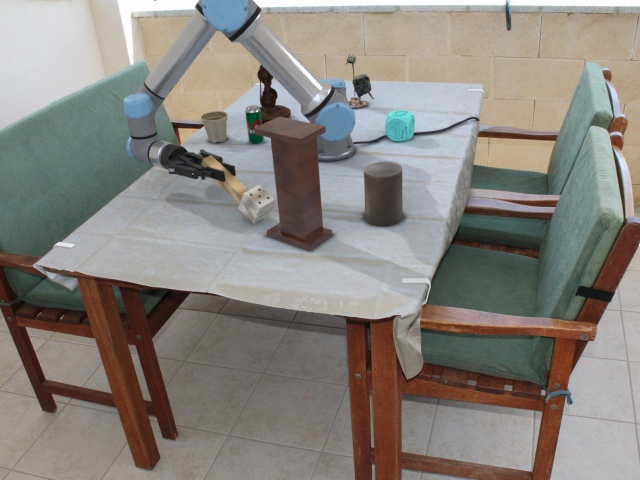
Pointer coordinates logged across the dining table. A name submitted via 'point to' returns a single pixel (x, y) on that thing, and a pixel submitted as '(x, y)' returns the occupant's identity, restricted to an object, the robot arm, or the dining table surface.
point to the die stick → (243, 193)
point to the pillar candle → (383, 193)
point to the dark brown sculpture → (270, 98)
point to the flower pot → (215, 125)
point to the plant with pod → (359, 85)
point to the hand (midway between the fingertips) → (229, 173)
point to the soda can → (253, 123)
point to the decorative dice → (400, 125)
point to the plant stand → (296, 181)
